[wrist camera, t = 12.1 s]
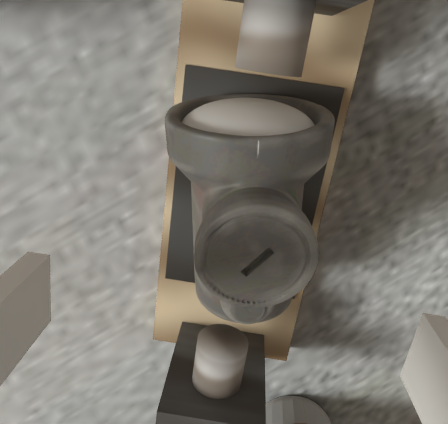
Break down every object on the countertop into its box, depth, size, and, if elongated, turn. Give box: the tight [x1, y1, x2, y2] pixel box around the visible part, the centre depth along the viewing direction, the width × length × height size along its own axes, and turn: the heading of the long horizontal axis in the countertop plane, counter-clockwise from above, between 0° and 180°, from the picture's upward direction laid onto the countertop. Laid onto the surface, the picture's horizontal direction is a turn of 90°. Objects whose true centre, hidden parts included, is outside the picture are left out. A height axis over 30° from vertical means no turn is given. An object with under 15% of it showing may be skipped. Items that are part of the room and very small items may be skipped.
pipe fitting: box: [165, 94, 335, 324], centre depth 21 cm, size 12×8×10 cm
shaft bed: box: [153, 0, 375, 424], centre depth 23 cm, size 25×10×10 cm, turn 172°
